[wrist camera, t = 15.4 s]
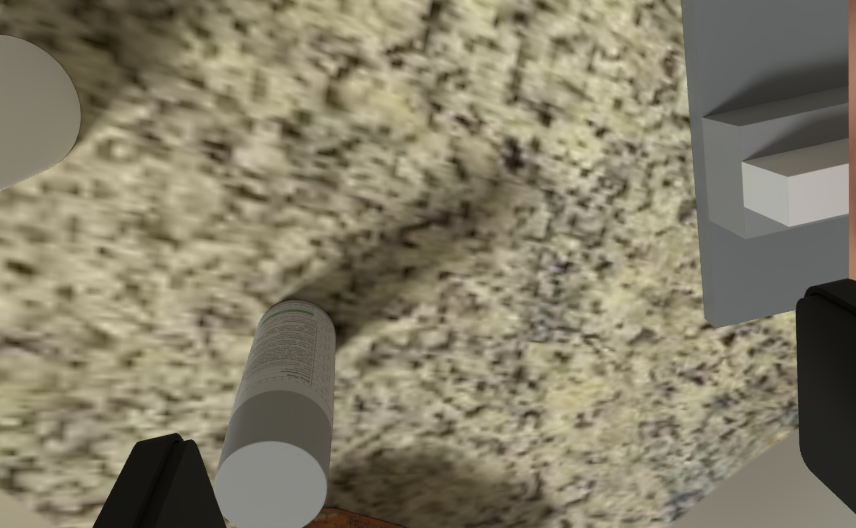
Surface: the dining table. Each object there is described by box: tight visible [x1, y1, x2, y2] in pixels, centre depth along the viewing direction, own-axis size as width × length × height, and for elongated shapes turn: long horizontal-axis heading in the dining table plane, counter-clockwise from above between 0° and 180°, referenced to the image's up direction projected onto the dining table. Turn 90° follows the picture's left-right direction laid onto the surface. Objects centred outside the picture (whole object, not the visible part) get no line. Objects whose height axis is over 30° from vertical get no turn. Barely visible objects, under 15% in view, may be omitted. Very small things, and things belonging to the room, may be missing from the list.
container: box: [214, 300, 336, 528], centre depth 35 cm, size 5×5×15 cm
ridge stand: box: [681, 0, 849, 328], centre depth 37 cm, size 20×10×10 cm, turn 11°
